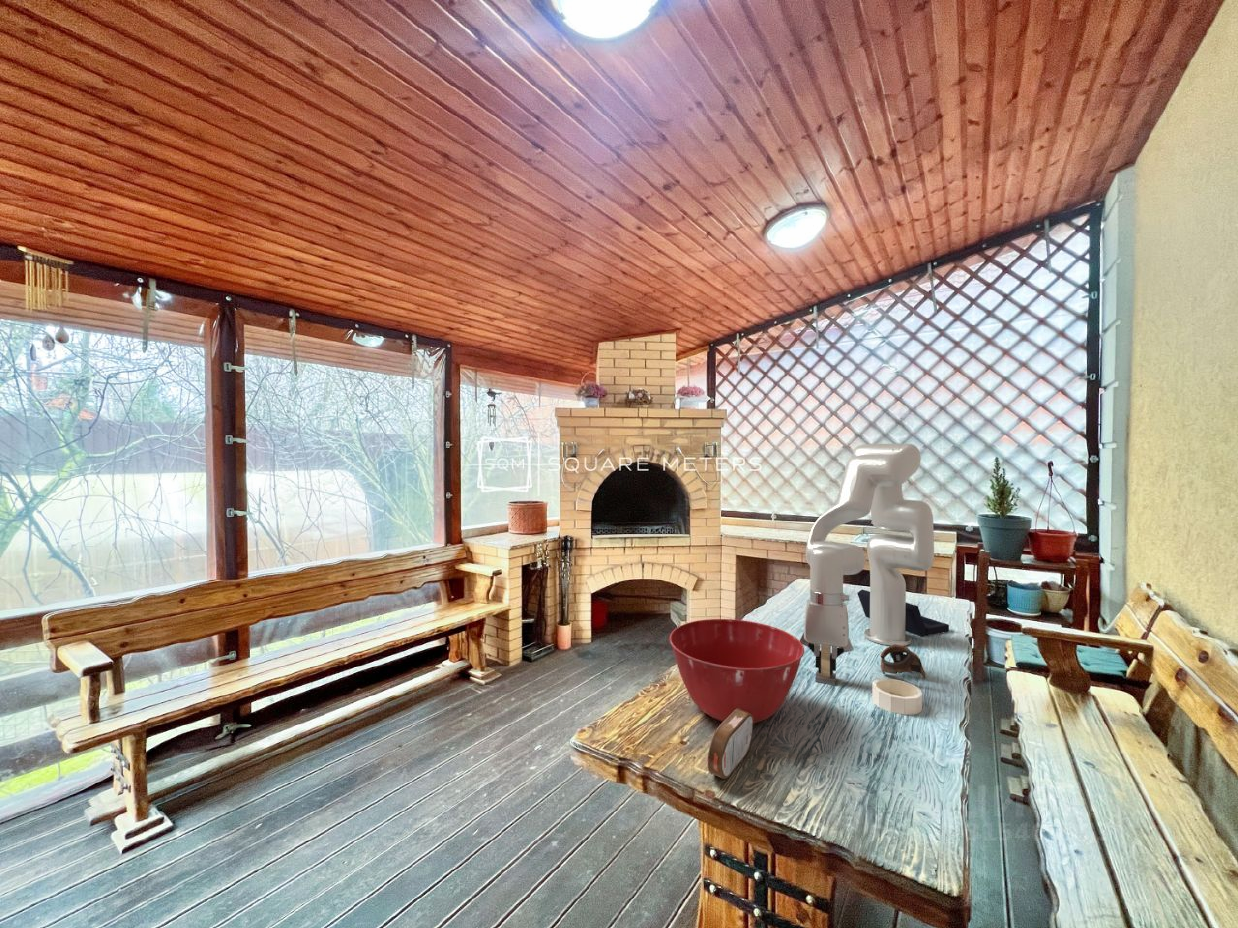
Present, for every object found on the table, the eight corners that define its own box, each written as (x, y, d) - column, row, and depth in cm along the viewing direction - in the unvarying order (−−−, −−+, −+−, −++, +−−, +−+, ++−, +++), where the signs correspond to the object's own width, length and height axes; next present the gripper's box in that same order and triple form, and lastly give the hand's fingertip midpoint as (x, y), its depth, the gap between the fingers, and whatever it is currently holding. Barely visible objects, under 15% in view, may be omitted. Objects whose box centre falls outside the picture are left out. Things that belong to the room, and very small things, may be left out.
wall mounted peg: (816, 674, 128) (817, 634, 128) (835, 678, 127) (836, 637, 126) (815, 681, 125) (815, 640, 124) (834, 685, 123) (835, 643, 122)
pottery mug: (935, 686, 122) (921, 658, 121) (896, 698, 125) (882, 671, 123) (914, 656, 134) (902, 630, 133) (879, 668, 136) (866, 643, 135)
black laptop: (948, 632, 160) (949, 600, 160) (912, 639, 154) (912, 606, 154) (891, 613, 179) (891, 585, 179) (856, 619, 173) (857, 589, 173)
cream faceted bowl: (871, 690, 120) (872, 675, 120) (919, 698, 116) (919, 683, 116) (872, 708, 111) (872, 692, 111) (923, 718, 107) (923, 701, 107)
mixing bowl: (827, 709, 111) (827, 639, 111) (758, 765, 91) (758, 680, 91) (718, 670, 131) (718, 610, 131) (643, 709, 111) (643, 639, 111)
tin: (740, 742, 98) (740, 699, 98) (756, 748, 97) (756, 704, 96) (705, 783, 86) (705, 734, 86) (722, 790, 84) (723, 740, 84)
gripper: (861, 597, 125) (861, 671, 125) (794, 590, 132) (793, 660, 132) (862, 605, 118) (861, 684, 119) (790, 597, 125) (790, 671, 126)
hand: (825, 671), depth 126 cm, fingers closed on wall mounted peg, 2 cm apart
